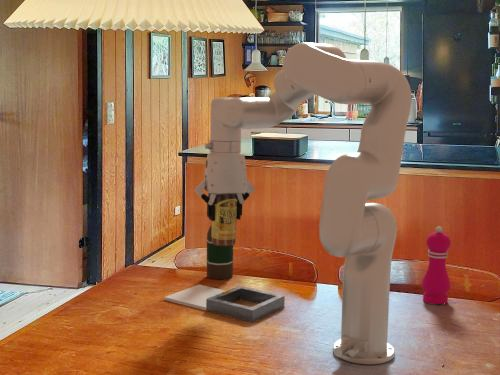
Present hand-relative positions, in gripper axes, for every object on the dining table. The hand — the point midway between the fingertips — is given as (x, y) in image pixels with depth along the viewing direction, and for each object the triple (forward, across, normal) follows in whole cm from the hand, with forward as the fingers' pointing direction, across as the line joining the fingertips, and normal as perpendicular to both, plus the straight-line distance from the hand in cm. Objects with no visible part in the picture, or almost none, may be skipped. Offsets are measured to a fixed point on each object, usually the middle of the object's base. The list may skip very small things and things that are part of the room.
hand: (224, 218), depth 164 cm
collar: (+22, +4, -6) cm, 23 cm away
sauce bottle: (+7, 0, 0) cm, 7 cm away
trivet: (+22, -4, +6) cm, 23 cm away
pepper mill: (+22, +53, -15) cm, 60 cm away
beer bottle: (+23, +6, +24) cm, 33 cm away
